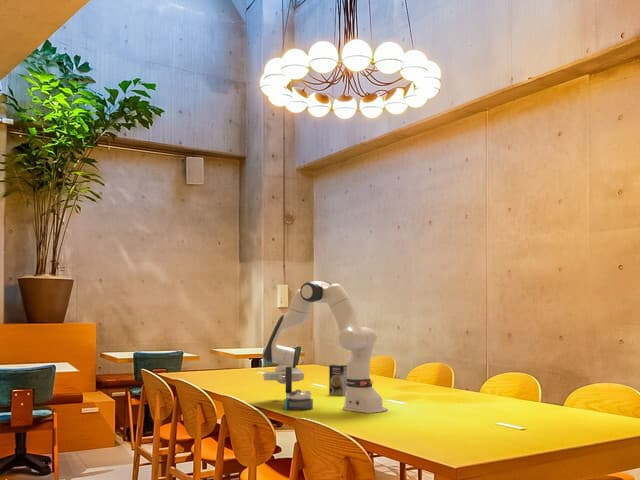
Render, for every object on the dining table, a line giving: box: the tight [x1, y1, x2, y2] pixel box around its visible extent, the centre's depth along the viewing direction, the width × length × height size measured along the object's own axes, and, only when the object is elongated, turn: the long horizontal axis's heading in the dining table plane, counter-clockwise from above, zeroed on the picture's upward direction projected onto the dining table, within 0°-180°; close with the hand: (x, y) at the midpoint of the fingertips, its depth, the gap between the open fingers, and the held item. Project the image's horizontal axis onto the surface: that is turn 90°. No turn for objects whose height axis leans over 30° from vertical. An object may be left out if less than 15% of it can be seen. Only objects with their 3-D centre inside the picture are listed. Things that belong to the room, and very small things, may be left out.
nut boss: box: [283, 398, 314, 411], centre depth 323 cm, size 14×15×5 cm
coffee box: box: [328, 364, 347, 397], centre depth 370 cm, size 9×6×16 cm
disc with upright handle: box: [285, 367, 312, 401], centre depth 323 cm, size 14×12×16 cm
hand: (284, 378), depth 326 cm, fingers closed
